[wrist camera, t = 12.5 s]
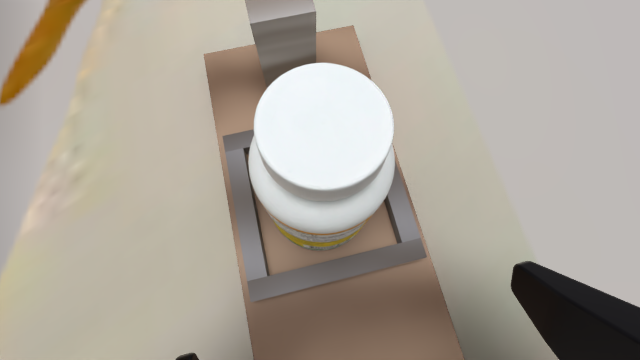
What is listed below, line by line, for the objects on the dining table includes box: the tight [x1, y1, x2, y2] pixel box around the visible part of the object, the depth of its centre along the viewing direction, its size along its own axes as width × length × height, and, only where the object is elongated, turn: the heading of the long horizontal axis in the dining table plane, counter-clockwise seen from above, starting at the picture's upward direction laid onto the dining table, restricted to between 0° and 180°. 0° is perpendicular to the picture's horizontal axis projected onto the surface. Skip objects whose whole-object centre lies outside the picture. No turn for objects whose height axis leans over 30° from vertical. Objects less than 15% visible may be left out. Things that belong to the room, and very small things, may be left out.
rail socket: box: [204, 0, 464, 360], centre depth 16 cm, size 22×10×7 cm, turn 14°
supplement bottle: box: [248, 63, 395, 251], centre depth 14 cm, size 5×5×10 cm
